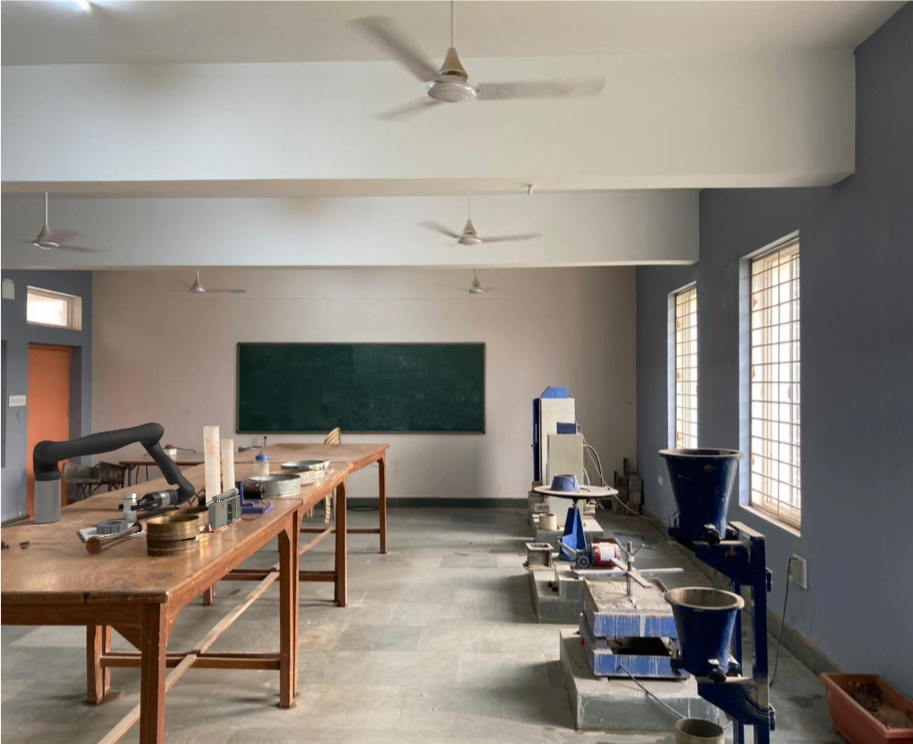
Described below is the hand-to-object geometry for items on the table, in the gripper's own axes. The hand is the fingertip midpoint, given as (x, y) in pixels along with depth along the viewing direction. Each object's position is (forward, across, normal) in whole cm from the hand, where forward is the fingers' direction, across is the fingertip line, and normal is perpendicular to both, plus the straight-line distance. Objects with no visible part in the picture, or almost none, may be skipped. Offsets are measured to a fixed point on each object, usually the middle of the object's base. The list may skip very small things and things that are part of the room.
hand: (125, 507), depth 271 cm
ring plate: (+14, +8, +6) cm, 17 cm away
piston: (-2, 0, +6) cm, 7 cm away
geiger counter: (-13, +39, +7) cm, 42 cm away
